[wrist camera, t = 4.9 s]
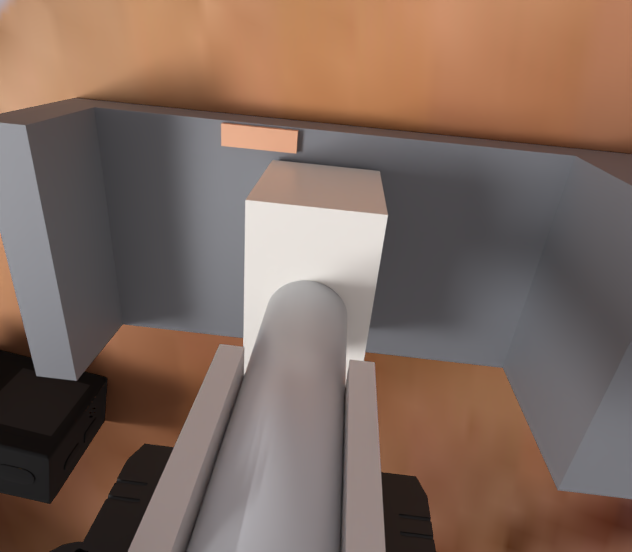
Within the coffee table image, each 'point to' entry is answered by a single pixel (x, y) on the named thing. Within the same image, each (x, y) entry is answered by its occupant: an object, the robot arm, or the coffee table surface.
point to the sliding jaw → (295, 359)
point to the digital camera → (44, 426)
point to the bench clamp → (395, 265)
